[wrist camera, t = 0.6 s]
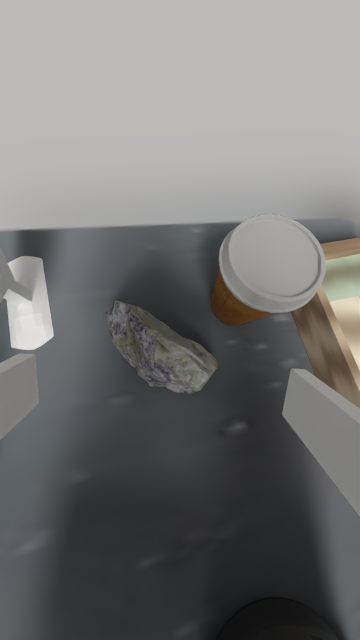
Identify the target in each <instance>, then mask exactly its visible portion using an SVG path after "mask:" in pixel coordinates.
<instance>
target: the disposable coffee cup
mask: <svg viewBox="0 0 360 640" xmlns="http://www.w3.org/2000/svg"><path fill="white" fill-rule="evenodd" d="M219 266H220V268H219V271H218V275H217V279H216V283H215V287H214V291H213V295H212V299H211V306H212V310H213V312H214V314H215V315H216V316H217V318H218V319H219V320H221V321H222V322H224V323H226V324H228V325H233V326H234V325H242V324H244V323H247V322H250V321H253V320H256V319H259V318H261V317H264V316H267V315H270V314H273V313H284V312H289V311H293V310H296V309H298V308H300V307H302V306H304V305H305V304H307V303H308V302H309V301H310V300H311V299H312V298H313V296H314V295H315V294H316V292H317V290H318V288H319V286H320V285H321V283H322V282H323V279H324V276H325V272H326V260H325V256H324V252H323V249H322V247H321V245H320V244H319V242H318V240H317V239H316V238H315V236H314V235H313V234H312V233H311V232H310V231H309V230H308V229H307V228H305V227H304V226H303V225H301V224H300V223H299V222H297V221H294V220H292V219H290V218H288V217H284V216H280V215H275V214H264V215H258V216H254V217H251V218H249V219H247V220H245V221H243V222H242V223H241V224H240V225H239V226H237V227H235V228H234V229H233V230H232V231H230V232H229V233H228V235H227V236H226V237H225V239H224V241H223V242H222V245H221V248H220V252H219Z"/></svg>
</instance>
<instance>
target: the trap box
mask: <svg viewBox="0 0 360 640" xmlns="http://www.w3.org/2000/svg"><path fill="white" fill-rule="evenodd" d="M320 245H321V247H322V249H323V252H324V256H325V260H326V272H325V276H324V279H323V282H322V283H321V285H320V286H319V288H318V290H317V292H316V294H315V295H314V296H313V298H312V299H311V300H310V301H309V302H308V303H307V304H305V305H304V306H302V307H300V308H298V309H296V310H293V311H291V313H292V315H293V318H294V320H295V323H296V326H297V328H298V331H299V333H300V336H301V338H302V341H303V344H304V346H305V349H306V351H307V354H308V357H309V359H310V362H311V364H312V367H313V370H314V372H315V375H316V377H317V378H318V379H319V380H321V381H322V382H324V383H325V384H326V385H328V386H329V387H330V388H332V389H333V390H335V391H336V392H337V393H339V394H340V395H342V396H343V397H344V398H346V399H347V400H348V401H350V402H351V403H353V404H354V405H355V406H357V407H358V408H360V237H359V238H353V239H347V240H341V241H335V242H329V243H323V244H320Z"/></svg>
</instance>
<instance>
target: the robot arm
mask: <svg viewBox="0 0 360 640" xmlns="http://www.w3.org/2000/svg"><path fill="white" fill-rule="evenodd" d="M38 404H39V395H38V383H37V371H36V359H35V354H21V353H19V354H17V355H15V356H13V357H11V358H9V359H7V360H5V361H3V362H1V363H0V440H1V439H2V438H3V437H4V436H5V435H6V434H7V433H8V432H9V431H10V430H11V429H12V428H13V427H14V426H16V425H17V424H18V423H19V422H20V421H21V420H22V419H23V418H24V417H25V416H26V415H27V414H28V413H29V412H30V411H32V410H33V409H34V408H35V407H36V406H37V405H38ZM282 415H283V417H284V418H285V419H286V421H287V422H288V423H289V425H290V426H291V427H292V428H293V430H294V431H295V432H296V434H297V435H298V436H299V438H300V439H301V440H302V442H303V443H304V444H305V445H306V447H307V448H308V449H309V451H310V452H311V453H312V455H313V456H314V457H315V458H316V460H317V461H318V462H319V464H320V465H321V466H322V468H323V469H324V470H325V471H326V473H327V474H328V475H329V477H330V478H331V479H332V481H333V482H334V483H335V485H336V486H337V487H338V488H339V490H340V491H341V492H342V494H343V495H344V496H345V498H346V499H347V500H348V501H349V503H350V504H351V505H352V507H353V508H354V509H355V511H356V512H357V513H358V515H359V516H360V408H358V407H357V406H355V405H354V404H353V403H351V402H350V401H348V400H347V399H346V398H344V397H343V396H342V395H340V394H339V393H337V392H336V391H335V390H333V389H332V388H330V387H329V386H328V385H326V384H325V383H324V382H322V381H321V380H319V379H318V378H317V377H315V376H314V375H312V374H311V373H310V372H308V371H307V370H305V369H291V371H290V376H289V381H288V386H287V391H286V396H285V402H284V407H283V412H282ZM217 640H339V639H338V638H337V636H336V635H335V634H334V632H333V631H332V630H331V628H330V627H329V626H328V625H327V624H326V623H325V622H324V621H323V620H322V619H321V618H320V617H319V616H318V615H317V614H316V613H314V612H313V611H312V610H310V609H309V608H307V607H305V606H303V605H301V604H299V603H297V602H294V601H291V600H287V599H279V598H272V599H265V600H261V601H258V602H255V603H253V604H251V605H249V606H247V607H245V608H244V609H243V610H241V611H240V612H239V613H237V614H236V615H235V616H234V617H233V618H232V619H231V620H230V621H229V623H228V624H227V625H226V626H225V628H224V629H223V630H222V632H221V633H220V635H219V636H218V638H217Z"/></svg>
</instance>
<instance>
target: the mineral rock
mask: <svg viewBox="0 0 360 640" xmlns="http://www.w3.org/2000/svg"><path fill="white" fill-rule="evenodd" d="M106 316H107V323H108V327H109V328H110V336H111V340H112V342H113V344H114V345H115V346H116V348H117V349H118V350H119V351H120V353H121V355H122V356H123V357H124V358H125V359H126V360H127V361H128V362H129V364H131V366H132V367H134V368H135V369H136V370H137V374H138V375H139V376H140V377H141V378H142V379H144V380H145V381H147V382H148V384H149V386H151V387H157V386H160V387H162V386H164V387H166V388H167V389H169V390H172V391H173V392H177V393H179V392H183V393H188V394H189V393H192V394H193V393H195V392H196V391H200V390H202V388H203V387H204V385H205V384H206V382H207V381H208V380H209V378H210V377H211V375H212V374H213V373H214V371H215V370H216V368H217V367H218V365H217V363H218V362H217V360H216V359H215V358H214V356H213V355H212V354H210V353H209V352H207V351H206V350H205V349H204V348H203V346H202V345H200V344H198V343H197V342H195V341H193V340H190V339H188V338H185V337H183V336H181V335H179V334H178V333H177V332H175V331H174V330H172V329H171V328H169V327H168V326H167V325H166V324H165V323H163V322H162V321H160V320H157V319H156V318H155V317H154V316H153V315H152V314H151V313H149V312H148V311H147V310H143V309H141V308H140V307H137V306H134V305H132V304H127V303H123V302H119V301H117V300H116V301H114V309H111V310H110V311H108V312H107V313H106Z"/></svg>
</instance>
